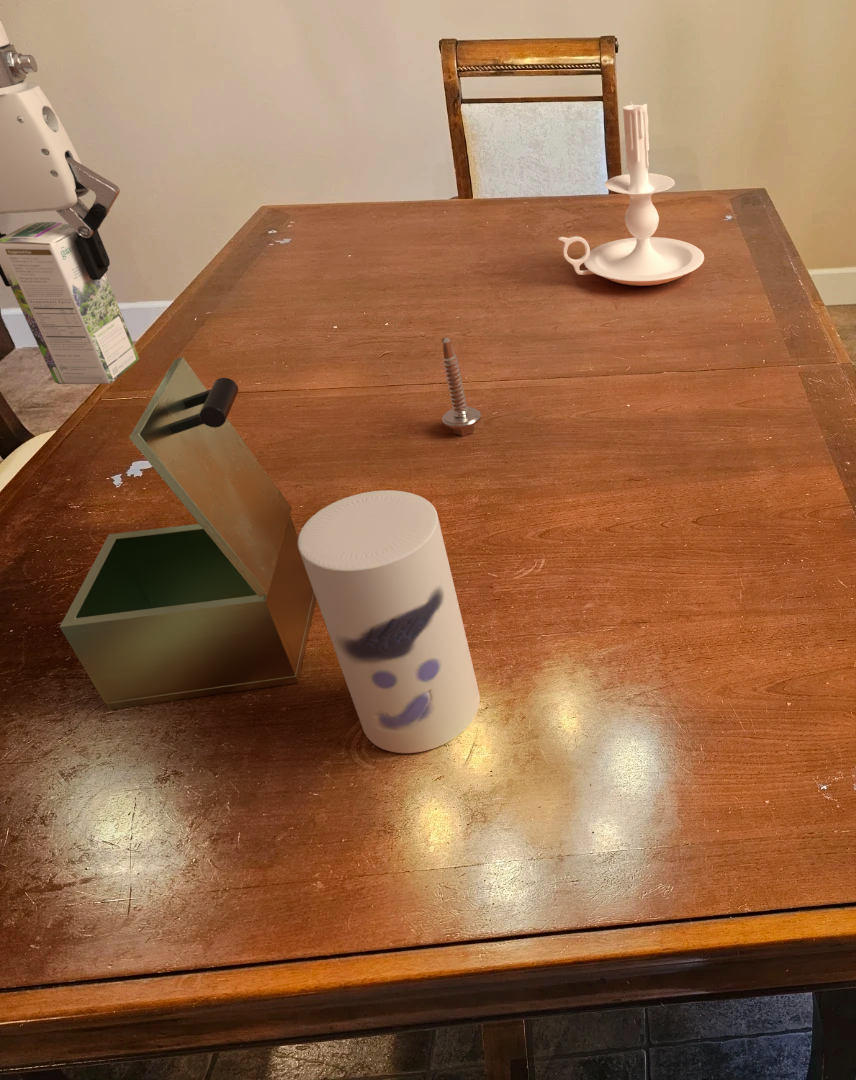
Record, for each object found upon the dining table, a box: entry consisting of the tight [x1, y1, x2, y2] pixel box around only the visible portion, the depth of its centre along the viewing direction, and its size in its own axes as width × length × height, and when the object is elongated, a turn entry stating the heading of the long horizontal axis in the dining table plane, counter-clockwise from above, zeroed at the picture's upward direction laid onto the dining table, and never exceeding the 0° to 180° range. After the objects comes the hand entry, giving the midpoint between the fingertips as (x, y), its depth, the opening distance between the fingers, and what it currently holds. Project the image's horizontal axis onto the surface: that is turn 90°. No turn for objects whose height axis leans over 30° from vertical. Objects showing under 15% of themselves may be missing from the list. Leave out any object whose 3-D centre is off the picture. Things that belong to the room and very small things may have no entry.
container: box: [297, 489, 481, 754], centre depth 75 cm, size 10×10×20 cm
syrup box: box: [0, 221, 140, 385], centre depth 90 cm, size 6×6×14 cm
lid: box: [128, 356, 293, 597], centre depth 77 cm, size 17×13×5 cm
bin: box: [59, 515, 317, 711], centre depth 84 cm, size 16×13×10 cm
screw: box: [441, 336, 482, 437], centre depth 115 cm, size 13×5×5 cm
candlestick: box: [557, 100, 705, 287], centre depth 151 cm, size 21×25×28 cm
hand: (57, 276), depth 88 cm, fingers closed on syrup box, 6 cm apart
